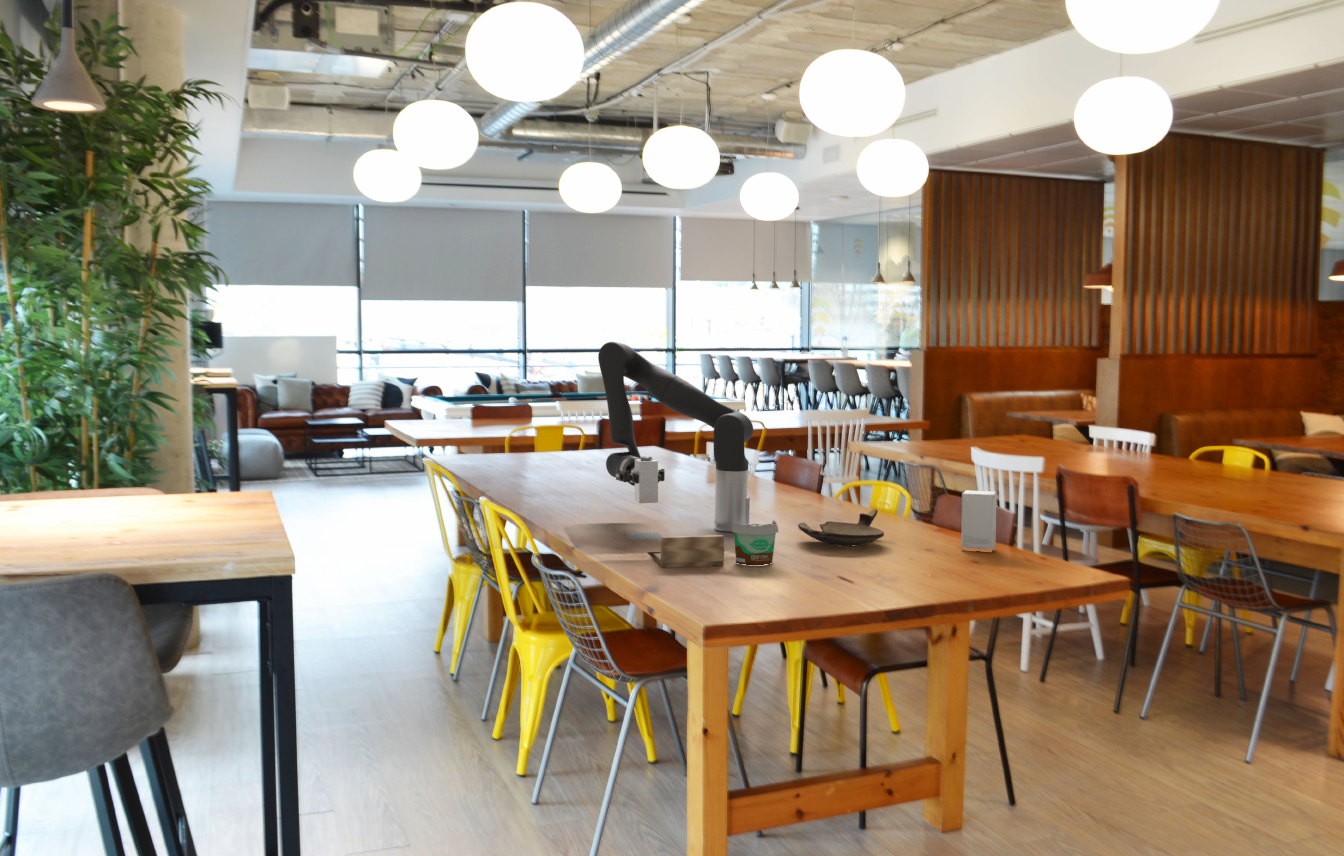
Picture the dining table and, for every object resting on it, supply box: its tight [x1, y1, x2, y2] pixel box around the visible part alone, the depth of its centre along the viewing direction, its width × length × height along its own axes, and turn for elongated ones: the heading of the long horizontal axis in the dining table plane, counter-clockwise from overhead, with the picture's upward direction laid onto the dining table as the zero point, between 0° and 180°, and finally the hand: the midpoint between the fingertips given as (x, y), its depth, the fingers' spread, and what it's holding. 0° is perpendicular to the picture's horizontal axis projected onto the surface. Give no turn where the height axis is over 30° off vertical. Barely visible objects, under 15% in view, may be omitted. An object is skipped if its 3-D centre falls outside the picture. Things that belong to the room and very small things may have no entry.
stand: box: [624, 532, 663, 541], centre depth 279 cm, size 9×9×2 cm
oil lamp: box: [797, 508, 885, 547], centre depth 282 cm, size 22×30×8 cm
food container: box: [732, 520, 779, 565], centre depth 254 cm, size 12×6×10 cm, turn 117°
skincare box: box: [960, 489, 997, 550], centre depth 276 cm, size 8×7×16 cm
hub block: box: [634, 455, 659, 504], centre depth 278 cm, size 5×6×12 cm
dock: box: [647, 534, 725, 568], centre depth 259 cm, size 15×19×7 cm
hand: (647, 479), depth 276 cm, fingers closed on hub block, 5 cm apart
